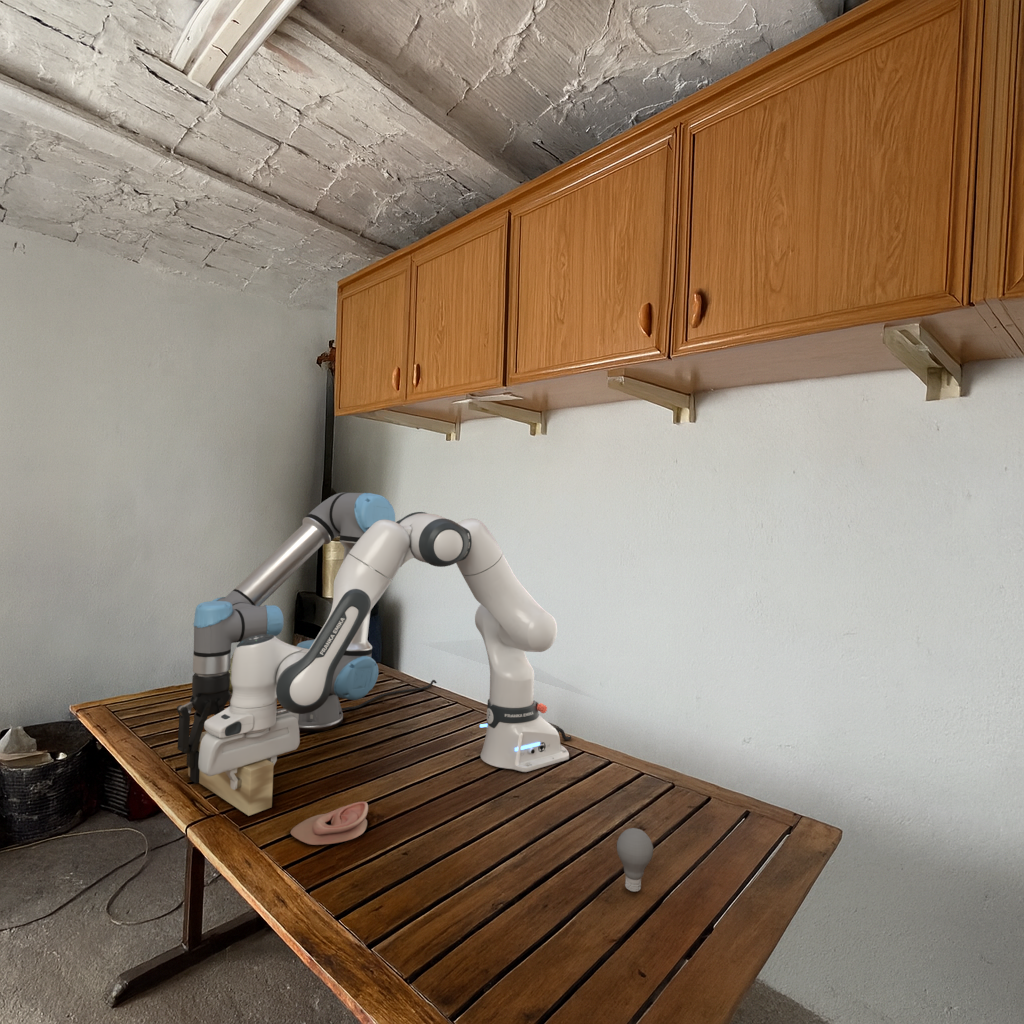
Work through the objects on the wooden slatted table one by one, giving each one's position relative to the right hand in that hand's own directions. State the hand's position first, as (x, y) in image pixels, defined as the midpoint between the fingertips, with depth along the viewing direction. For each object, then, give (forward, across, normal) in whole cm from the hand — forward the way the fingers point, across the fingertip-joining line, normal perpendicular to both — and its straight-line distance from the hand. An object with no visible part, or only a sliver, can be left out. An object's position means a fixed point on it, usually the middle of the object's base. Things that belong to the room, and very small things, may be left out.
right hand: (250, 782), depth 129 cm
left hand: (+4, 0, -18) cm, 18 cm away
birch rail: (+4, 0, -9) cm, 10 cm away
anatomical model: (+4, -5, +20) cm, 21 cm away
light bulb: (+4, -28, +72) cm, 77 cm away
